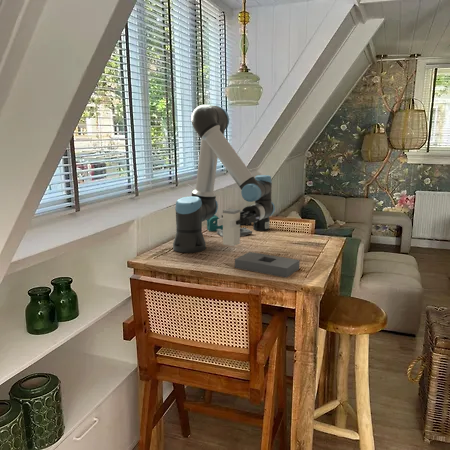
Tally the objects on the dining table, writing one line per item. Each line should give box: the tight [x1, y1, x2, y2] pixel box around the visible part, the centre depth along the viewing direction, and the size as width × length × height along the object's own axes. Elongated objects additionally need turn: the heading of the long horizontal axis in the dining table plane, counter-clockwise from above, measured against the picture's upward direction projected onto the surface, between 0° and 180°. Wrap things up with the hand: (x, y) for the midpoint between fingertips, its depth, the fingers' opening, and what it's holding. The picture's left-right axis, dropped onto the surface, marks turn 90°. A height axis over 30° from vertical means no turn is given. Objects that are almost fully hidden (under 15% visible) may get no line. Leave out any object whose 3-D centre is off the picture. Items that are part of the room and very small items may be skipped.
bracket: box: [206, 214, 223, 232], centre depth 238 cm, size 18×7×8 cm, turn 104°
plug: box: [222, 208, 241, 247], centre depth 174 cm, size 5×5×14 cm
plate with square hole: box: [234, 251, 301, 279], centre depth 168 cm, size 22×12×4 cm, turn 58°
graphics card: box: [216, 227, 253, 238], centre depth 224 cm, size 17×4×12 cm
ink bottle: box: [252, 216, 271, 232], centre depth 236 cm, size 10×9×12 cm
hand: (224, 223), depth 169 cm, fingers closed on plug, 5 cm apart
